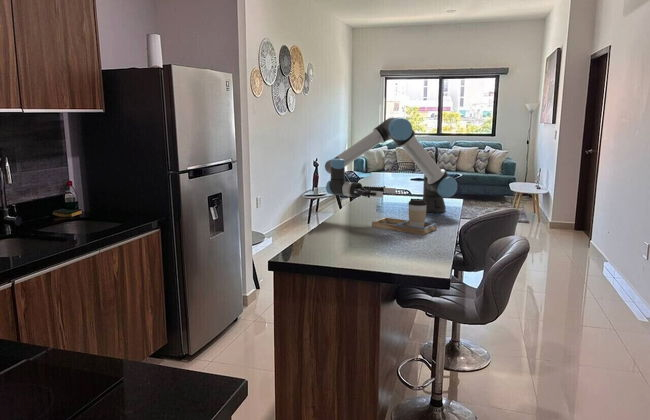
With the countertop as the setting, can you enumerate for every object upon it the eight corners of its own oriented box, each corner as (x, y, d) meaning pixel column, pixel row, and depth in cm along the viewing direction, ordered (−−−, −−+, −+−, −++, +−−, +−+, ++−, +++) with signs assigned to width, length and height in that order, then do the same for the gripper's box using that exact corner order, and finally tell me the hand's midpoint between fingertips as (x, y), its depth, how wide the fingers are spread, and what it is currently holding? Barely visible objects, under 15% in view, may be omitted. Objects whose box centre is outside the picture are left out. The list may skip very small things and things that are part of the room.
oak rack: (386, 221, 255) (386, 216, 254) (436, 229, 239) (436, 223, 238) (371, 226, 243) (371, 221, 243) (423, 234, 227) (423, 228, 226)
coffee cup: (427, 228, 240) (428, 198, 237) (424, 232, 231) (426, 200, 228) (408, 226, 243) (410, 197, 240) (405, 230, 234) (406, 199, 231)
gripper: (365, 193, 265) (400, 196, 253) (339, 199, 245) (376, 203, 233) (365, 179, 264) (400, 182, 252) (339, 185, 244) (376, 188, 232)
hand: (389, 192), depth 242 cm, fingers open, 13 cm apart
